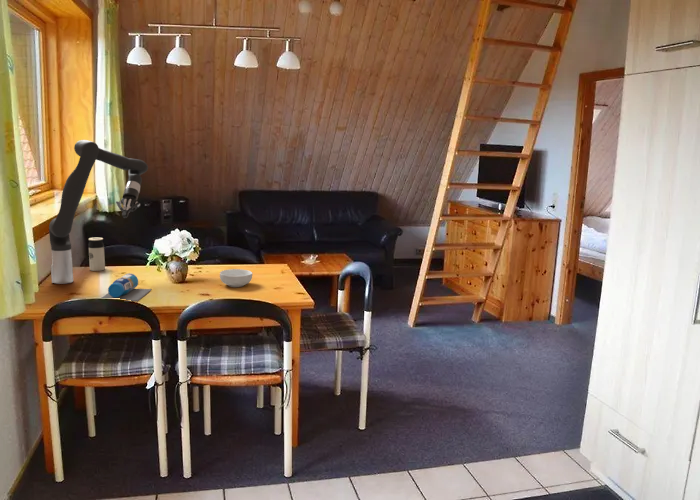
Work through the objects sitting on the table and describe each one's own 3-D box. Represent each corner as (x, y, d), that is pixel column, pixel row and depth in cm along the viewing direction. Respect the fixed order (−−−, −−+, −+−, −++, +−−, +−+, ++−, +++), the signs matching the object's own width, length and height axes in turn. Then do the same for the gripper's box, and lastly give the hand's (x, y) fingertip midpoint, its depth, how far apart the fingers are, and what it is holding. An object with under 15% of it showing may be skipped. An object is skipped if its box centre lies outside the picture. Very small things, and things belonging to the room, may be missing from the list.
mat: (98, 300, 272) (98, 299, 272) (115, 289, 293) (115, 288, 293) (137, 301, 273) (137, 300, 273) (151, 290, 293) (151, 289, 293)
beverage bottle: (134, 292, 294) (119, 302, 275) (119, 284, 294) (102, 294, 274) (141, 278, 293) (126, 287, 273) (126, 269, 292) (110, 278, 273)
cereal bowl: (232, 291, 296) (232, 277, 295) (213, 285, 307) (213, 271, 306) (258, 285, 309) (258, 272, 307) (239, 280, 320) (239, 267, 318)
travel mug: (102, 267, 337) (100, 236, 334) (107, 270, 332) (105, 238, 328) (87, 269, 332) (86, 238, 329) (92, 271, 326) (91, 240, 323)
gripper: (117, 186, 311) (109, 212, 302) (142, 187, 312) (135, 213, 302) (121, 195, 318) (113, 221, 308) (145, 196, 318) (139, 221, 308)
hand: (124, 217), depth 305 cm, fingers closed
